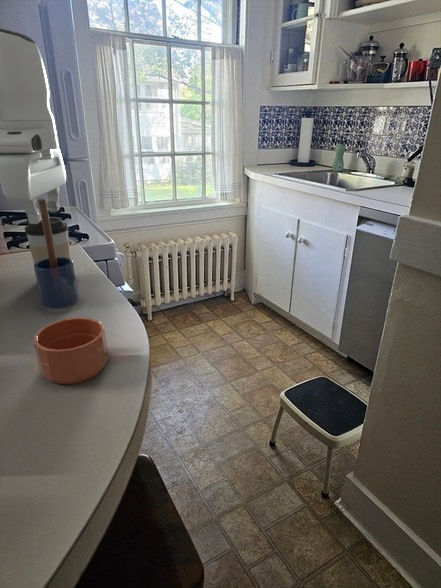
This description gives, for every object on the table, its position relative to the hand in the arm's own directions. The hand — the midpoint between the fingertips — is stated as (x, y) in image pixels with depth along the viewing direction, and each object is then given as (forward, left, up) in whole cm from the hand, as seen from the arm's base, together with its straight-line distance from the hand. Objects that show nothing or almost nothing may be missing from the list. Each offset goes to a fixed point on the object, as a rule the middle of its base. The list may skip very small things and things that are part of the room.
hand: (45, 216), depth 75 cm
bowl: (+10, -23, -18) cm, 31 cm away
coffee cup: (-5, +12, -19) cm, 23 cm away
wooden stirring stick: (0, 0, -18) cm, 18 cm away
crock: (0, 0, -18) cm, 18 cm away
